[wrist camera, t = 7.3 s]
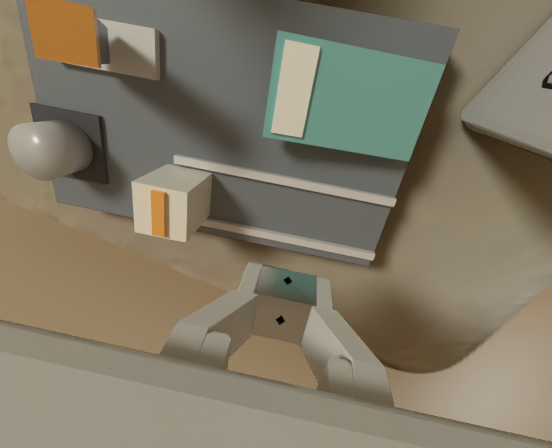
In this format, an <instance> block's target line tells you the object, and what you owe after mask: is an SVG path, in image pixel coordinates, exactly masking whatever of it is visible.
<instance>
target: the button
mask: <svg viewBox="0 0 552 448" xmlns="http://www.w3.org/2000/svg"><path fill="white" fill-rule="evenodd" d="M8 147H9V151H10V153H11V155H12V157H13V159H14V161H15V162H16V163H17V165H18V166H19V167H20V168H21V169H22V170H23V171H24V172H26V173H27V174H28V175H30V176H32V177H34V178H36V179H39V180H43V181H49V180H53V179H56V178H59V177H62V176H65V175H68V174H71V173H74V172H77V171H80V170H83V169H85V168H87V167H88V166H89V165H90V163H91V161H92V158H93V150H92V146H91V143H90V140H89V139H88V137H87V135H86V134H85V133H84V132H83V131H82V130H81V129H80V128H79V127H78V126H77V125H75V124H74V123H72V122H69V121H66V120H51V121H41V122H31V123H22V124H18V125H15V126H14V127H13V128H12V129H11V130H10V132H9V134H8Z"/></svg>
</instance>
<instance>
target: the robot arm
mask: <svg viewBox="0 0 552 448" xmlns="http://www.w3.org/2000/svg"><path fill="white" fill-rule="evenodd" d="M252 335H257V336H262V337H268V338H273V339H277V340H282V341H286V342H290V343H294V344H298V345H300V347H301V349H302V351H303V353H304V355H305V358H306V360H307V362H308V363H309V366H310V368H311V370H312V372H313V374H314V376H315V378H316V380H317V382H318V387H317V389H311V388H307V387H302V386H297V385H293V384H289V383H284V382H280V381H275V380H271V379H266V378H261V377H257V376H253V375H248V374H243V373H239V372H234V371H230V370H227V368H228V360H229V357H230V356H231V355H232V354H233V353H234V352H236V351H237V350H238V349H239V347H241V346H242V345H243V344H244V343H245V342H246V341H247V340H248V339H249V338H250V337H251V336H252ZM0 448H552V442H550V441H545V440H541V439H536V438H532V437H527V436H523V435H518V434H514V433H509V432H505V431H500V430H496V429H491V428H487V427H482V426H478V425H473V424H469V423H464V422H459V421H455V420H451V419H446V418H442V417H437V416H433V415H428V414H424V413H419V412H415V411H410V410H405V409H401V408H397V407H394V402H393V398H392V394H391V390H390V387H389V382H388V378H387V374H386V370H385V367H384V366H383V365H382V363H381V362H380V361H379V360H378V359H377V357H376V356H375V355H374V354H373V353H372V352H371V350H370V349H369V348H368V347H367V346H366V344H365V343H364V342H363V341H362V340H361V338H360V337H359V336H358V335H357V334H356V333H355V331H354V330H353V329H352V328H351V327H350V325H349V324H348V323H347V322H346V321H345V319H344V318H343V317H342V316H341V315H340V313H339V312H338V311H335V310H333V301H332V289H331V279H330V278H328V277H323V276H317V275H316V276H314V275H309V274H304V273H300V272H295V271H290V270H286V269H282V268H278V267H273V266H269V265H265V264H263V265H262V264H260V263H255V262H250V261H249V262H248V264H247V267H246V269H245V272H244V275H243V277H242V280H241V283H240V285H239V288H238V290H236V289H233V290H232V291H230V292H228V293H226V294H225V295H223V296H222V297H220V298H218V299H216V300H215V301H213V302H212V303H210V304H208V305H206V306H204V307H203V308H201V309H200V310H198V311H196V312H194V313H192V314H191V315H189V316H187V317H186V318H184V319H182V320H181V321H179V322H178V323H177V325H176V326H175V328H174V330H173V331H172V333H171V335H170V337H169V338H168V340H167V342H166V344H165V345H164V347H163V349H162V351H161V352H160V354H159V355H158V354H153V353H149V352H144V351H140V350H135V349H131V348H127V347H122V346H118V345H113V344H108V343H104V342H99V341H95V340H90V339H86V338H81V337H77V336H72V335H68V334H63V333H59V332H54V331H50V330H45V329H41V328H36V327H32V326H27V325H23V324H18V323H13V322H9V321H4V320H0Z"/></svg>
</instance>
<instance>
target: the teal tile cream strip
mask: <svg viewBox="0 0 552 448" xmlns="http://www.w3.org/2000/svg"><path fill="white" fill-rule="evenodd" d="M445 66H446V65H443V64H439V63H434V62H429V61H424V60H419V59H414V58H410V57H405V56H400V55H395V54H390V53H386V52H381V51H376V50H371V49H366V48H361V47H357V46H352V45H347V44H342V43H337V42H333V41H328V40H323V39H318V38H313V37H309V36H304V35H299V34H294V33H289V32H284V31H280V30H277V37H276V44H275V51H274V58H273V65H272V72H271V79H270V86H269V93H268V100H267V108H266V115H265V122H264V129H263V136H262V137H267V138H273V139H279V140H285V141H290V142H296V143H302V144H308V145H314V146H320V147H326V148H332V149H338V150H343V151H349V152H355V153H361V154H367V155H373V156H379V157H385V158H391V159H396V160H402V161H408V162H409V160H410V157H411V155H412V152H413V149H414V147H415V144H416V142H417V139H418V136H419V134H420V131H421V129H422V126H423V123H424V121H425V118H426V115H427V113H428V110H429V108H430V105H431V102H432V100H433V97H434V95H435V92H436V89H437V87H438V84H439V82H440V79H441V76H442V74H443V71H444V69H445Z"/></svg>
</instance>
